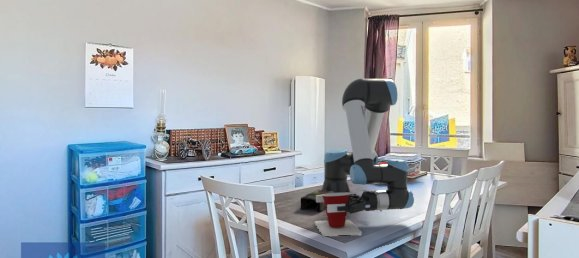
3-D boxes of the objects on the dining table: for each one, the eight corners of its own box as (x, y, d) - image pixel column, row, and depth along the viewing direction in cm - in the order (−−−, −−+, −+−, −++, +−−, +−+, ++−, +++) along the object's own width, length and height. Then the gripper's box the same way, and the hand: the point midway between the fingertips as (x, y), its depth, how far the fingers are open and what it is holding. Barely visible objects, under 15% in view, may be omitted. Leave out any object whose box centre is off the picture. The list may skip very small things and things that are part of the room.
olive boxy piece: (316, 199, 170) (316, 187, 170) (335, 202, 166) (335, 189, 165) (299, 210, 152) (299, 197, 152) (320, 214, 148) (320, 199, 148)
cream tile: (314, 223, 133) (314, 221, 133) (349, 222, 135) (349, 219, 135) (322, 236, 120) (322, 233, 120) (361, 235, 121) (361, 232, 121)
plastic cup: (332, 221, 135) (331, 190, 136) (356, 225, 128) (356, 192, 129) (315, 226, 127) (315, 192, 128) (340, 229, 120) (339, 194, 121)
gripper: (390, 220, 122) (332, 224, 117) (360, 201, 146) (312, 204, 141) (390, 199, 121) (333, 202, 117) (360, 184, 146) (312, 186, 141)
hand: (321, 203), depth 129 cm, fingers open, 13 cm apart
